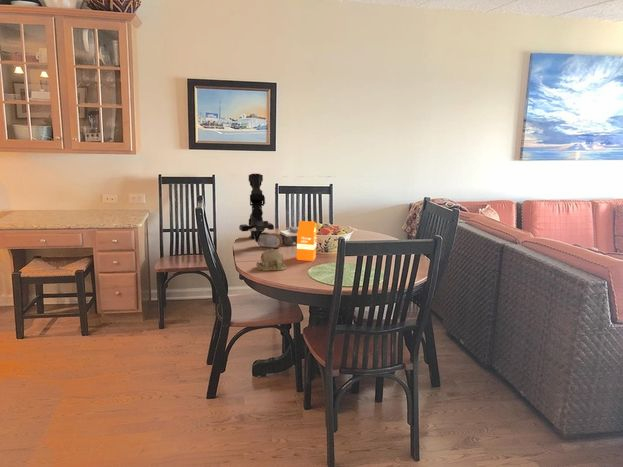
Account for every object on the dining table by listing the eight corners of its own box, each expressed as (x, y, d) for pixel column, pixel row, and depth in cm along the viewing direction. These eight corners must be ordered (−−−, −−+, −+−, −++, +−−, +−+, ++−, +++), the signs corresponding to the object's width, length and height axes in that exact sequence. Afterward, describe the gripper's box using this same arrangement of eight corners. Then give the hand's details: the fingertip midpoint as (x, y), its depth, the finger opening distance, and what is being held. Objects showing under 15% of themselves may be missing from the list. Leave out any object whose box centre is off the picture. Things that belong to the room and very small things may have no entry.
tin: (282, 248, 266) (283, 233, 264) (280, 249, 263) (281, 234, 261) (258, 245, 269) (258, 231, 268) (256, 246, 266) (256, 232, 265)
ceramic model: (281, 263, 235) (281, 244, 233) (289, 270, 225) (289, 250, 223) (254, 266, 230) (254, 246, 228) (261, 272, 220) (261, 252, 218)
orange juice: (313, 261, 241) (314, 223, 237) (296, 259, 243) (297, 222, 239) (315, 257, 249) (317, 220, 244) (299, 255, 250) (300, 219, 246)
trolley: (277, 242, 280) (278, 227, 278) (297, 240, 285) (297, 226, 283) (284, 246, 270) (284, 231, 268) (304, 244, 276) (304, 229, 274)
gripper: (245, 218, 249) (244, 246, 252) (277, 216, 257) (277, 244, 260) (239, 214, 258) (238, 241, 262) (270, 213, 266) (270, 239, 270)
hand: (256, 242), depth 263 cm, fingers closed
